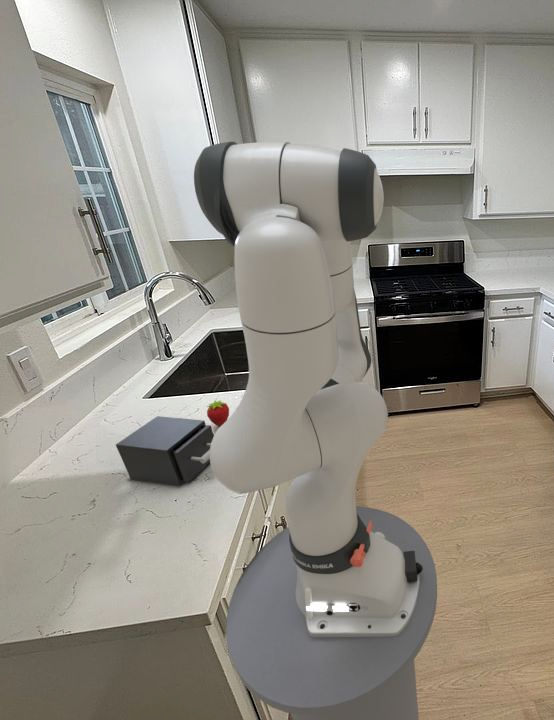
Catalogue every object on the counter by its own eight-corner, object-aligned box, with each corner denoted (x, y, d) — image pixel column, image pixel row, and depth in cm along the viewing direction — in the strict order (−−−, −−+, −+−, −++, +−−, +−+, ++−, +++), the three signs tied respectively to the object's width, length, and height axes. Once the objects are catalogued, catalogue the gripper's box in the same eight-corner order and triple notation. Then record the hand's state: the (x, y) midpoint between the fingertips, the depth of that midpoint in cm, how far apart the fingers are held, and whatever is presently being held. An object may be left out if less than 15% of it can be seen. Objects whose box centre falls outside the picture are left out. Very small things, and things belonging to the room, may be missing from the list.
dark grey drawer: (233, 454, 103) (225, 426, 99) (203, 484, 93) (193, 454, 89) (176, 448, 106) (166, 421, 103) (142, 476, 96) (129, 447, 93)
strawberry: (233, 418, 121) (225, 390, 117) (232, 431, 114) (224, 401, 110) (213, 422, 119) (204, 394, 115) (210, 436, 113) (201, 406, 108)
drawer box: (215, 453, 105) (204, 420, 101) (180, 485, 94) (166, 450, 89) (169, 448, 108) (157, 416, 104) (130, 479, 97) (115, 444, 92)
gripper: (324, 381, 92) (272, 378, 95) (279, 429, 74) (217, 424, 77) (328, 404, 95) (277, 400, 98) (286, 455, 77) (225, 450, 80)
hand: (250, 411), depth 87 cm, fingers closed
